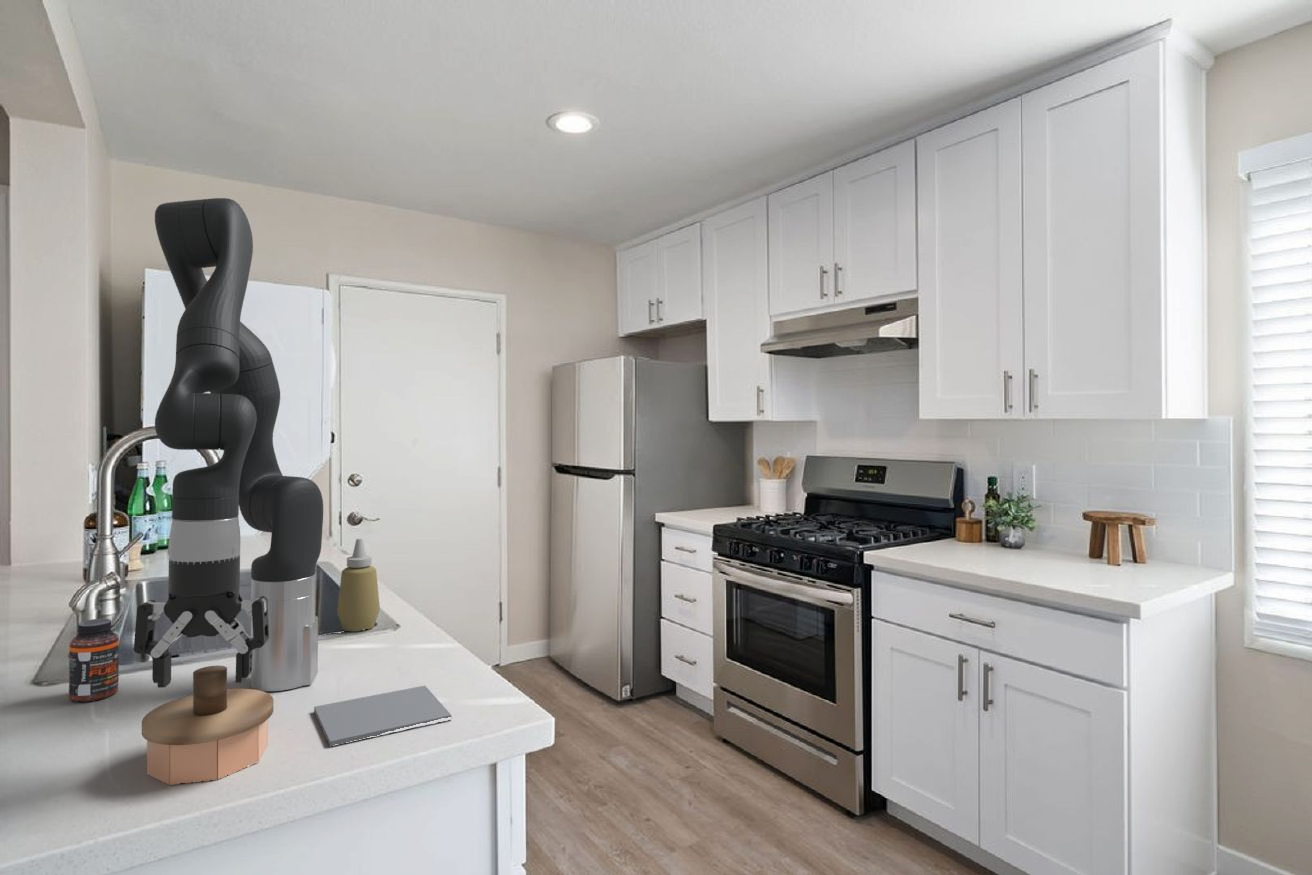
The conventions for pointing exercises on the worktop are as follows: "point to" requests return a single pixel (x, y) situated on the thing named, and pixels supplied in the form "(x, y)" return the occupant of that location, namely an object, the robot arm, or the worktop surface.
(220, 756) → the bowl
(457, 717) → the worktop surface
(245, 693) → the lid
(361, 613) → the squeeze bottle
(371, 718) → the mat
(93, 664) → the supplement bottle
